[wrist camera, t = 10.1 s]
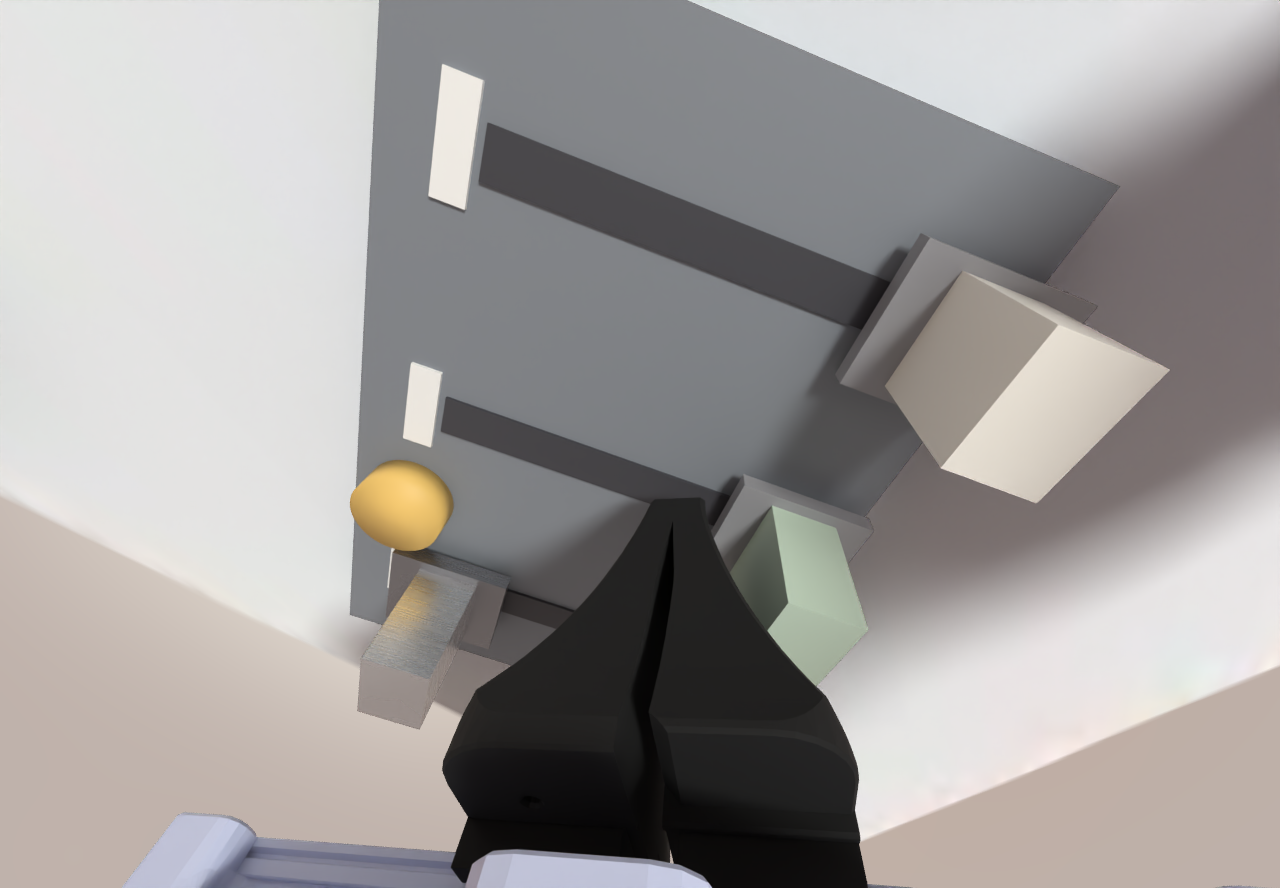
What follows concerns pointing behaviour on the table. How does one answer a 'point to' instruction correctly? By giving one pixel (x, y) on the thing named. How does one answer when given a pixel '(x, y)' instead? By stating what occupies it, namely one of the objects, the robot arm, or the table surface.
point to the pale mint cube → (795, 570)
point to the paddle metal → (426, 631)
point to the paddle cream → (994, 369)
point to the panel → (640, 279)
